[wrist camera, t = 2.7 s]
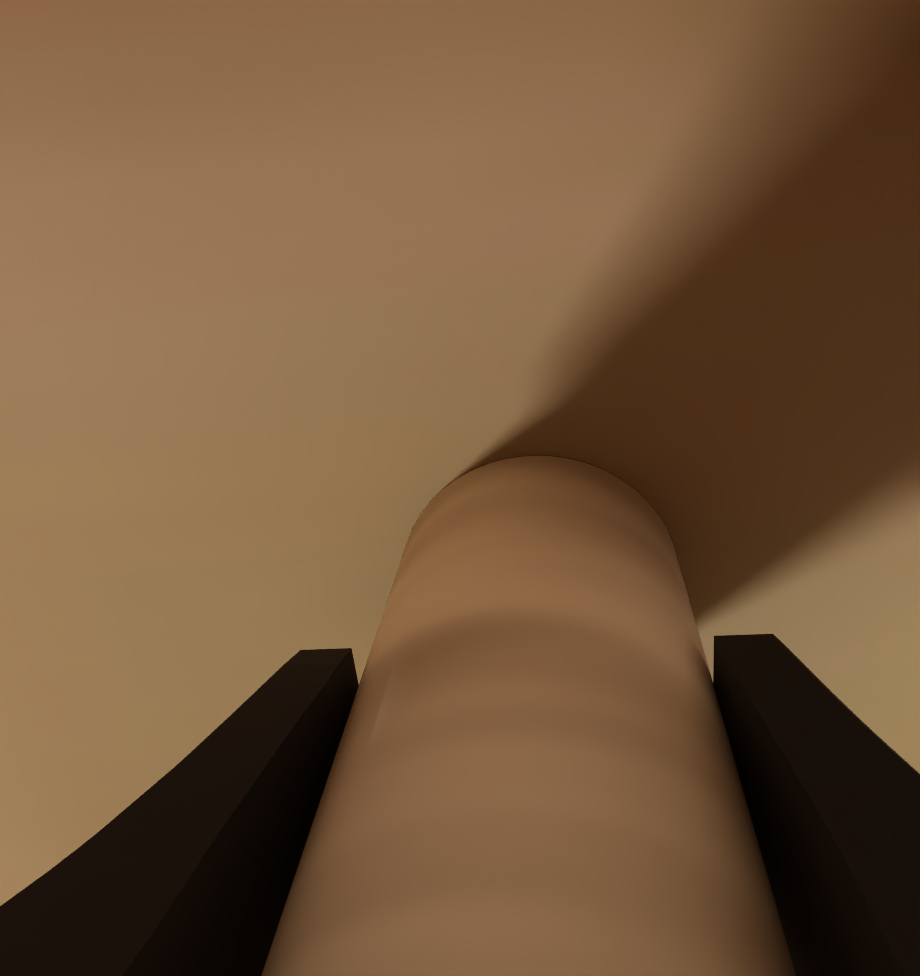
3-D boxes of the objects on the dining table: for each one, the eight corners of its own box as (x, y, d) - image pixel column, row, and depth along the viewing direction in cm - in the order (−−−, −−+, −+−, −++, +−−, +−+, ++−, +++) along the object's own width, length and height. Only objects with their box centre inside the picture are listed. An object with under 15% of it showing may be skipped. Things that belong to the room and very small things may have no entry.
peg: (679, 690, 13) (852, 1474, 5) (420, 697, 13) (260, 1415, 6) (678, 446, 11) (925, 1090, 4) (384, 465, 12) (100, 1059, 4)
